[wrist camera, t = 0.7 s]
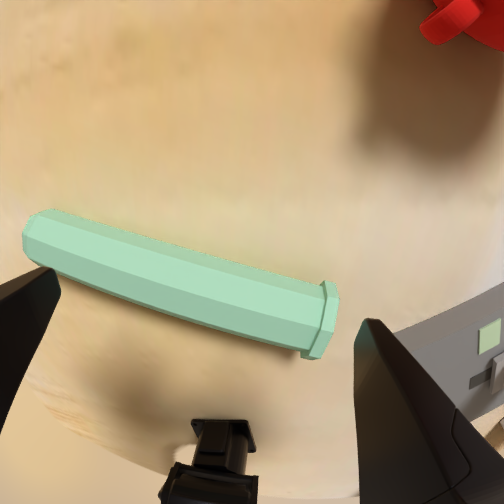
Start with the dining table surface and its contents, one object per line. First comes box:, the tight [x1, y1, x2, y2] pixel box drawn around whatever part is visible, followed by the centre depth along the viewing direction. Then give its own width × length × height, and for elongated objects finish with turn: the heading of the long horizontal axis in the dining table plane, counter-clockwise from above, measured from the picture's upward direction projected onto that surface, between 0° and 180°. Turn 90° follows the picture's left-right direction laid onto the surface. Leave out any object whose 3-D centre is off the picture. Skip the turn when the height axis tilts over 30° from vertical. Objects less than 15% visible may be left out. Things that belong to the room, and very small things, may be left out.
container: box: [22, 208, 340, 360], centre depth 22 cm, size 6×6×25 cm
